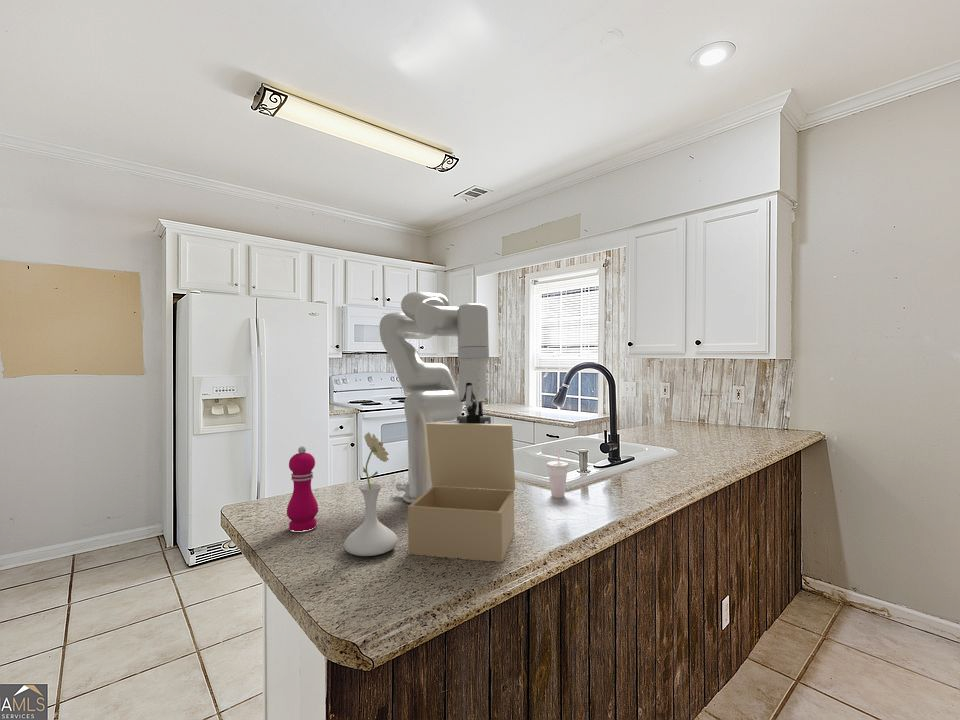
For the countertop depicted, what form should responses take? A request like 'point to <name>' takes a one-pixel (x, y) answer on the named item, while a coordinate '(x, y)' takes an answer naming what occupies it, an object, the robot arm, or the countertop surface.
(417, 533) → the carton
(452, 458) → the carton lid
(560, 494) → the smoothie
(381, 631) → the countertop surface
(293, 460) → the pepper mill
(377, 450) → the flower in vase
